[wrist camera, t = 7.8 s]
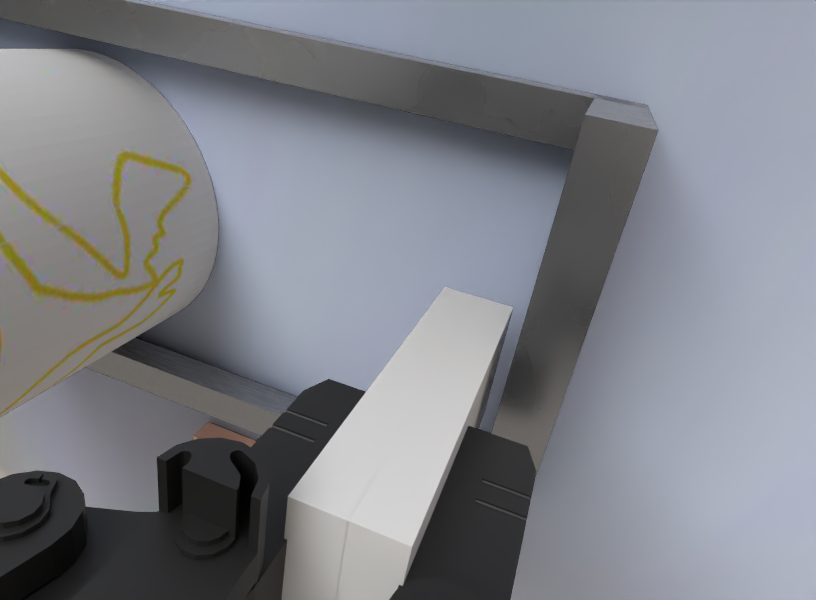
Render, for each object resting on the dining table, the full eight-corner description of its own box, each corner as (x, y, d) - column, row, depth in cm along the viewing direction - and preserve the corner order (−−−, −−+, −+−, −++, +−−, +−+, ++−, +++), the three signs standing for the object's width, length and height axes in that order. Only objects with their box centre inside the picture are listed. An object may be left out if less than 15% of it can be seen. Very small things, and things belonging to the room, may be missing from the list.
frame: (-8, 309, 21) (-139, 363, 17) (-71, -44, 16) (-274, -70, 12) (511, 504, 16) (481, 631, 13) (647, 105, 11) (658, 130, 8)
